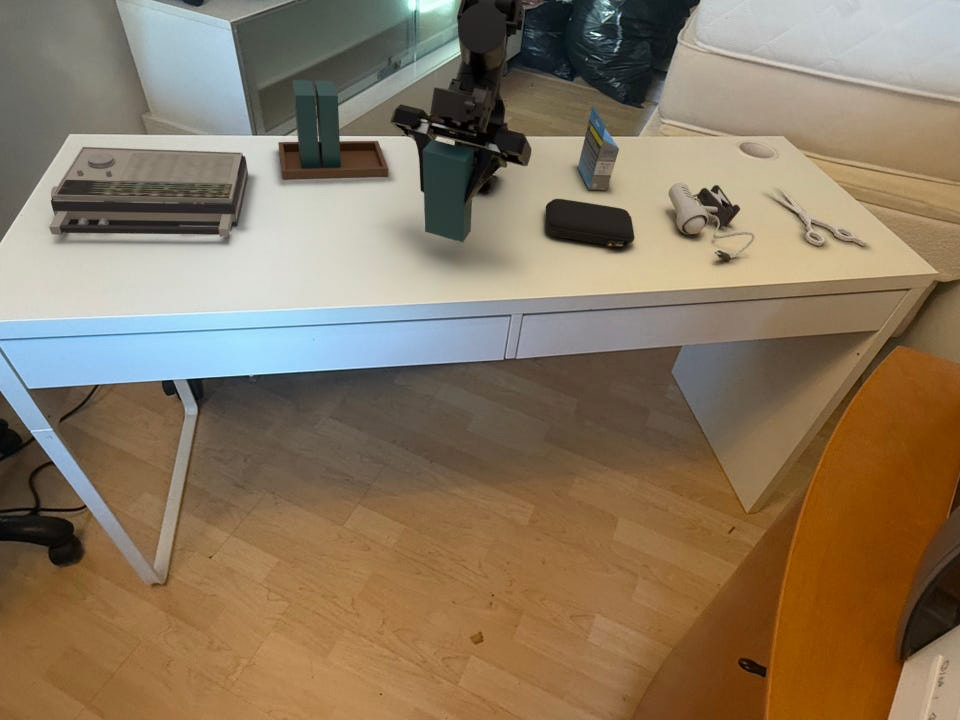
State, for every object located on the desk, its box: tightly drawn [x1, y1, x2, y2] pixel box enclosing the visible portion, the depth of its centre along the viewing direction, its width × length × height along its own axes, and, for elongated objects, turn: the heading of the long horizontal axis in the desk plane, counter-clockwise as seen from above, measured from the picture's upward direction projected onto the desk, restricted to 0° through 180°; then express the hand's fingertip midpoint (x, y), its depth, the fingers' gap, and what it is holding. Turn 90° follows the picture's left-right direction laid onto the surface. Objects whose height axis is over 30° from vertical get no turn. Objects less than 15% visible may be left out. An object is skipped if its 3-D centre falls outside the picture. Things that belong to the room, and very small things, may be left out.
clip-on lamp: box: [668, 182, 756, 262], centre depth 105 cm, size 12×6×18 cm
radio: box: [48, 146, 249, 237], centre depth 91 cm, size 24×5×20 cm
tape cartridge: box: [577, 104, 620, 192], centre depth 112 cm, size 9×4×12 cm, turn 8°
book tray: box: [277, 140, 389, 181], centre depth 108 cm, size 18×11×2 cm, turn 106°
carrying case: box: [544, 198, 635, 248], centre depth 102 cm, size 11×3×15 cm
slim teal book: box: [423, 139, 474, 243], centre depth 84 cm, size 3×6×13 cm, turn 69°
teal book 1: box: [292, 79, 320, 169], centre depth 102 cm, size 3×6×13 cm, turn 16°
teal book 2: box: [314, 80, 341, 168], centre depth 103 cm, size 3×6×13 cm, turn 16°
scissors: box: [766, 188, 867, 247], centre depth 115 cm, size 11×1×20 cm
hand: (443, 197), depth 83 cm, fingers closed on slim teal book, 6 cm apart
